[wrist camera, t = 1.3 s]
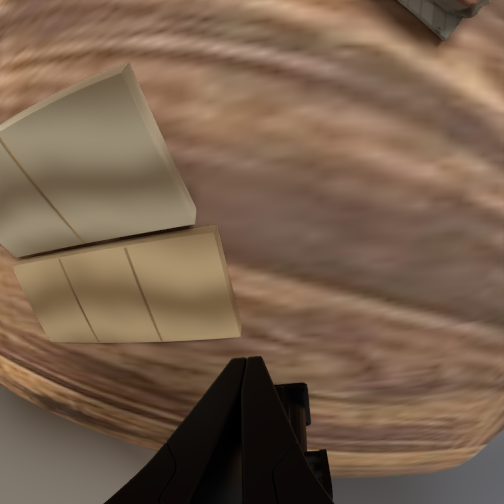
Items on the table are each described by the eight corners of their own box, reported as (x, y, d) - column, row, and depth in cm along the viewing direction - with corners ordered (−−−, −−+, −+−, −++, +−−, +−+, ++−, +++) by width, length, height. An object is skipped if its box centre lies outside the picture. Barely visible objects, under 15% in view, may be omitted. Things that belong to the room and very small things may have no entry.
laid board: (241, 326, 23) (240, 337, 22) (56, 334, 26) (50, 342, 25) (217, 224, 20) (213, 232, 19) (20, 259, 22) (11, 266, 21)
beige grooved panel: (196, 208, 19) (194, 225, 19) (20, 245, 22) (15, 258, 21) (129, 61, 11) (120, 73, 11) (-55, 164, 13) (-64, 177, 13)
